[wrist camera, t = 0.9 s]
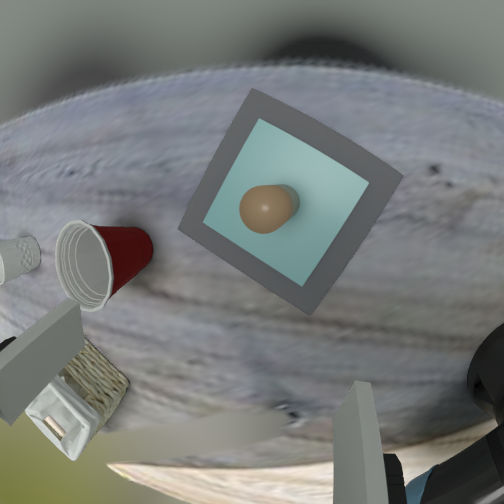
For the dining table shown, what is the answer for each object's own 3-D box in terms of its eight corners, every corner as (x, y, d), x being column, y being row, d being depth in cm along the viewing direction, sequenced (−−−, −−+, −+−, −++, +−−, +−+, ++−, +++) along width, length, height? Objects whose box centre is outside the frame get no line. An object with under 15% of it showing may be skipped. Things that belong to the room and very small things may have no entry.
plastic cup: (138, 192, 40) (76, 200, 28) (182, 255, 40) (127, 284, 29) (99, 237, 43) (41, 255, 32) (136, 294, 44) (83, 326, 32)
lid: (368, 182, 31) (381, 183, 22) (302, 283, 36) (289, 320, 26) (261, 119, 33) (232, 98, 23) (206, 221, 37) (163, 235, 28)
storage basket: (79, 323, 50) (23, 356, 36) (140, 382, 49) (91, 430, 35) (61, 381, 58) (22, 410, 44) (109, 427, 57) (73, 464, 43)
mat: (402, 175, 30) (403, 175, 30) (310, 314, 37) (310, 315, 36) (252, 89, 32) (252, 88, 32) (179, 228, 39) (177, 229, 39)
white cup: (20, 238, 51) (-16, 248, 41) (36, 228, 48) (-4, 238, 39) (30, 273, 52) (-5, 287, 42) (46, 266, 49) (8, 281, 40)
